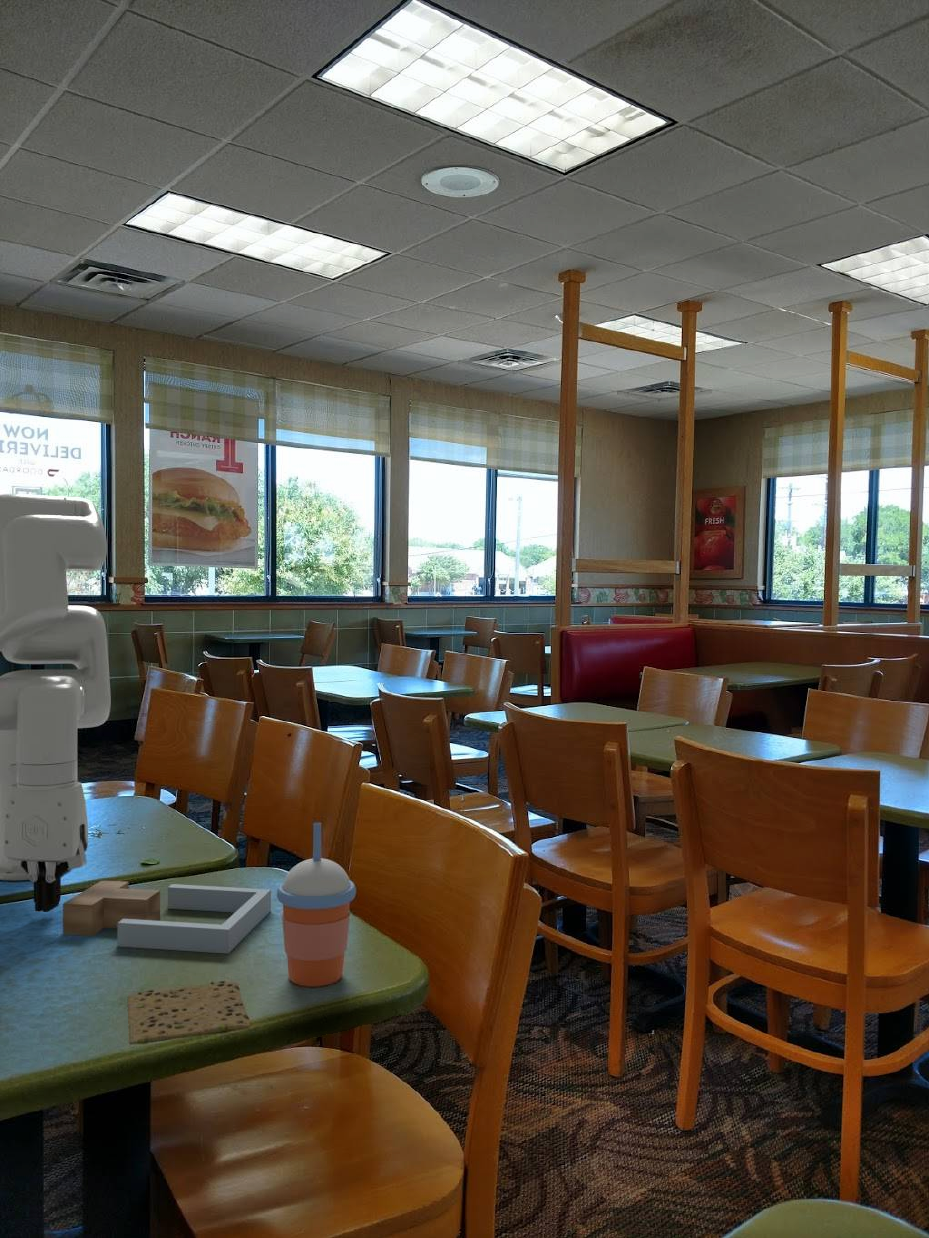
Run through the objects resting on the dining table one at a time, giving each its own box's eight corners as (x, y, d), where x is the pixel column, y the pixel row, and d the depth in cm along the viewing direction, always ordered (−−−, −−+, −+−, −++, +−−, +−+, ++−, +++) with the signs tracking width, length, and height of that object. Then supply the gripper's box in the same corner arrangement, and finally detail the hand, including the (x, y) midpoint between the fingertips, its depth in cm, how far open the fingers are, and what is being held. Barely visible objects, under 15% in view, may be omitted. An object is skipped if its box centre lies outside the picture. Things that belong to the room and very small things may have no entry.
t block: (101, 908, 134) (101, 880, 134) (169, 912, 133) (169, 883, 132) (63, 934, 124) (62, 903, 124) (136, 938, 123) (135, 907, 123)
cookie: (125, 999, 105) (125, 990, 105) (237, 985, 110) (237, 977, 110) (127, 1049, 94) (127, 1039, 94) (251, 1032, 98) (252, 1022, 98)
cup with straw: (349, 994, 107) (350, 834, 106) (268, 992, 107) (269, 832, 106) (359, 962, 116) (361, 815, 115) (284, 960, 116) (286, 813, 116)
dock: (172, 904, 136) (172, 883, 136) (270, 910, 134) (271, 889, 134) (117, 946, 120) (117, 922, 120) (228, 953, 118) (228, 929, 118)
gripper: (-22, 776, 126) (-22, 914, 127) (84, 781, 124) (84, 921, 125) (12, 766, 134) (12, 896, 134) (113, 770, 132) (112, 902, 132)
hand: (47, 908), depth 129 cm, fingers closed
